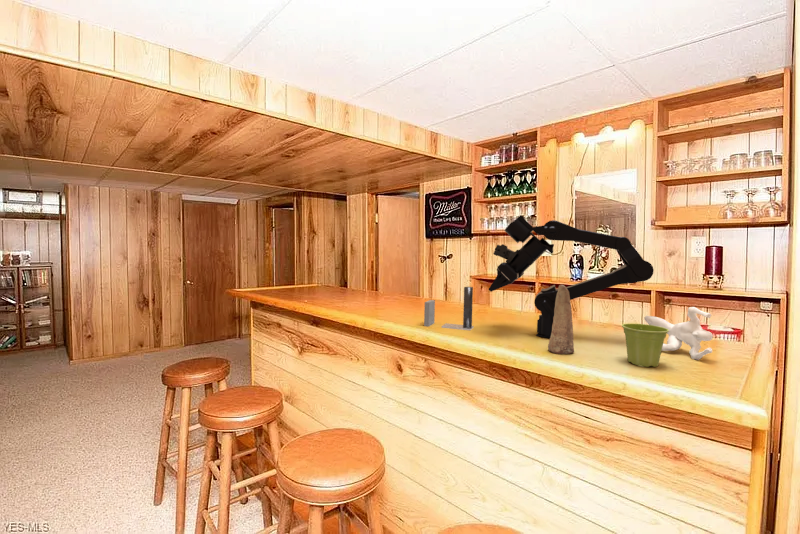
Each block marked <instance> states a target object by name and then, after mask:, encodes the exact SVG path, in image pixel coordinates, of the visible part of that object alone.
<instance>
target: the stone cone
mask: <svg viewBox="0 0 800 534" xmlns="http://www.w3.org/2000/svg"><path fill="white" fill-rule="evenodd" d="M566 287H567V286H565V285H564V284H559V285H558V288H557V289H558V292H557V296H556V301H555V309H554V317H553V325H552V333H551V337H550V338H549V340H548V344H547V348H548V351H549V352H550V353H552V354H558V355H570V354H573V353H574V352H575V348H574V346H575V345H574V326H573V325H574V324H573V312H572V302H571V300H570V295H569V291H568V289H567V288H566Z"/></svg>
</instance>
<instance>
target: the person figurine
mask: <svg viewBox="0 0 800 534" xmlns="http://www.w3.org/2000/svg"><path fill="white" fill-rule="evenodd" d="M687 309H688V310H687V317H688V319H690V320H687V321H684V322H678V323H675V324H674V323H671V322H669V321H668V320H666V319H664V318H661V317H657V316H655V315H654V316H653V315H645V317H643V318H644V319H643V320H644V322H646V323H647V325H654V326H659V327H664V328H667V329H668V330H669V332H668V333H667V334H666V335H668V338H667V340H666V343H664V342H663V346H662V351H666V352H667V351H671V352H672V351H673V352H674V351H677V350H679V349H680V348H682V344H683V343H684V344H686V345H688V346H689V347H690V349H689V350H688V351H689V355H690V357H691V359H692V360H695V361H696V360H697V361H698V360H701V359H702V358H703V357H704V356H706V355H708V354H712V353H713V349H712V347H707V348H705V349H704V350H703V351H701V348H702V346H701V344H700V343H701V342H710V341H712V340H713V338H714V337H713V333H712V332H711V331H709V330H706V329H703V327H702V326H701V319H700V318H699V317H698V315H701V316H703V317H704V318H705V317H706V319H710V318H711V317H712V313H711V312H705V311H703V310H701V309H699V308H697V307H696V306H690V307H688V308H687ZM662 351H661V352H662ZM699 351H700V352H699Z"/></svg>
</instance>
